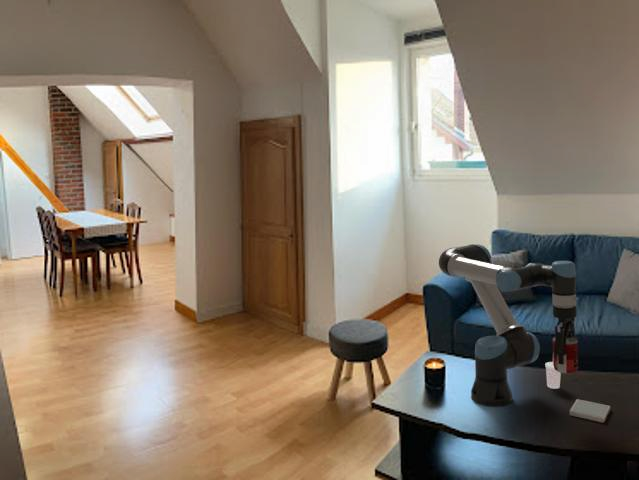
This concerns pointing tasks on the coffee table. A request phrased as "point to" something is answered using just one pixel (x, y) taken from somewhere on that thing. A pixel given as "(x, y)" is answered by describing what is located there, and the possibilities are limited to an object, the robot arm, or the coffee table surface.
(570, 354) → the canned food
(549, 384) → the beverage cup
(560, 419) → the coffee table surface
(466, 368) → the coffee table surface
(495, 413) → the coffee table surface
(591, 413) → the tray
